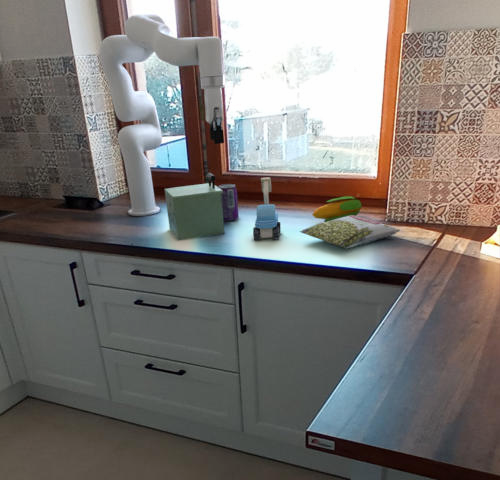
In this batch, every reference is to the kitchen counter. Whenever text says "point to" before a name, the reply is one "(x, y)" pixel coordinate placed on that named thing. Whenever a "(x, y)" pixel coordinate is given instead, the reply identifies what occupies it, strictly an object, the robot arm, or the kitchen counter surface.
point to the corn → (338, 209)
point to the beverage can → (229, 202)
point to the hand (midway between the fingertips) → (217, 141)
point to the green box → (195, 216)
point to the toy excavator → (266, 216)
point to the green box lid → (195, 189)
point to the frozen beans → (350, 231)
